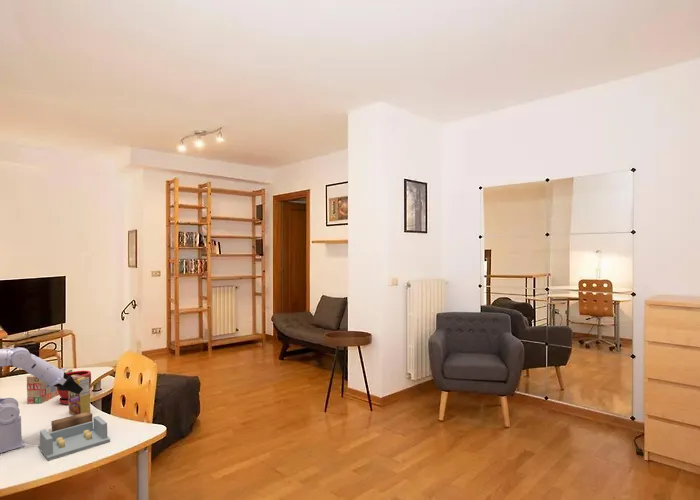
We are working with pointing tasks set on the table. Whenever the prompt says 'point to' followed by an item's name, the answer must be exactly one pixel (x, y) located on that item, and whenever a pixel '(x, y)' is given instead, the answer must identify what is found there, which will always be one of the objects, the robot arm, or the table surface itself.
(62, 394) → the plant pot
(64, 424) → the board
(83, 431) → the peg stand
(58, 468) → the table surface
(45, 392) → the stack of blocks
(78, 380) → the candy box
